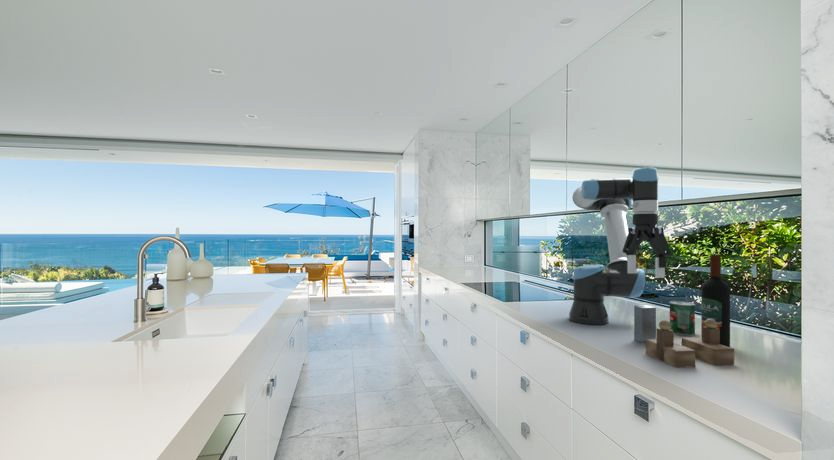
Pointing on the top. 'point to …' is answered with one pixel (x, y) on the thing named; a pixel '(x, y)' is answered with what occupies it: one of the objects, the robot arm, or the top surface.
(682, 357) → the pair of knobbed blocks
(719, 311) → the wine bottle
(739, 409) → the top surface
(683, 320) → the canned tomato
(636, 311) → the grey brushed pillar
